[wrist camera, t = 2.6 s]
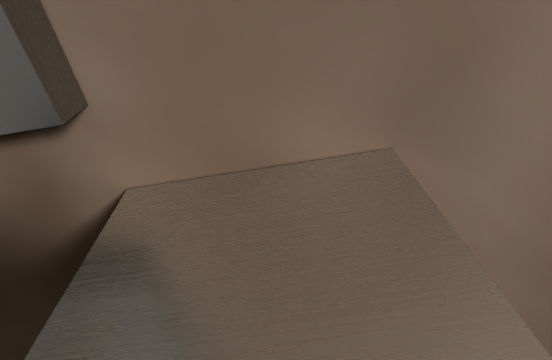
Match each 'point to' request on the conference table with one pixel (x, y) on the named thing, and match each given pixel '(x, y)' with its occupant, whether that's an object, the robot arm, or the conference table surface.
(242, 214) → the grey hollow square block
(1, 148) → the conference table surface
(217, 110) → the conference table surface
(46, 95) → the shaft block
